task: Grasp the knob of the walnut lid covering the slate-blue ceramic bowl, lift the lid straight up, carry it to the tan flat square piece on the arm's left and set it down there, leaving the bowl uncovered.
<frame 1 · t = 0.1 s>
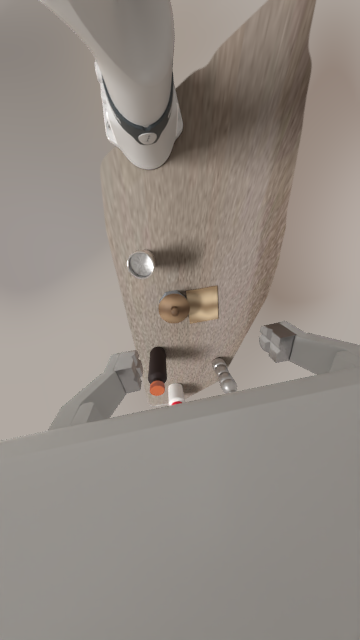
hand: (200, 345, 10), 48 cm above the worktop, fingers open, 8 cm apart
bowl: (173, 303, 59), on the worktop
pill bottle: (175, 387, 81), on the worktop
beer glass: (145, 259, 52), on the worktop
plastic bottle: (217, 361, 76), on the worktop
tan flat square piece: (202, 305, 61), on the worktop
lid: (174, 308, 55), point 5 cm above the worktop, touching bowl
vinegar: (157, 352, 69), on the worktop
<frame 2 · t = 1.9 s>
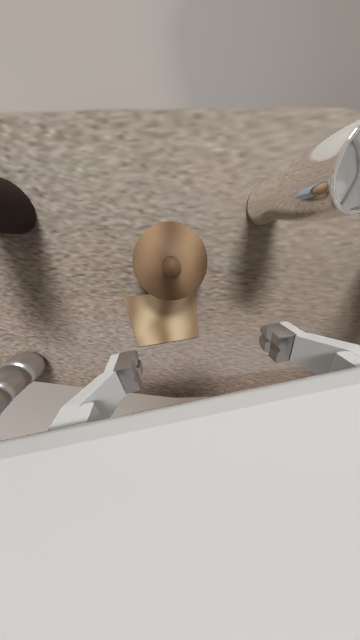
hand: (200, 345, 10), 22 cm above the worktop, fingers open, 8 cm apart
beer glass: (263, 204, 26), on the worktop
plastic bottle: (34, 358, 35), on the worktop
tan flat square piece: (164, 318, 33), on the worktop
lid: (170, 264, 24), point 5 cm above the worktop, touching bowl
vinegar: (11, 208, 23), on the worktop
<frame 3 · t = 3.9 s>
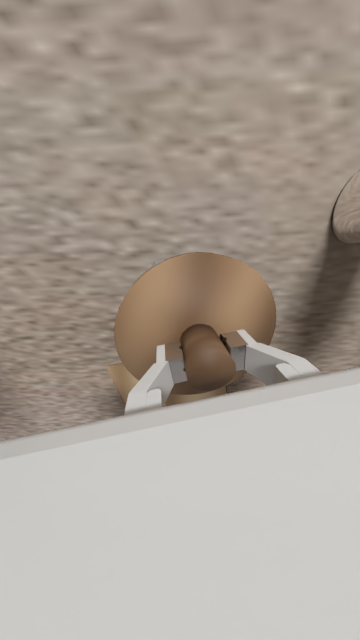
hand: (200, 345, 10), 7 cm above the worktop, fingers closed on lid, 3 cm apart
tan flat square piece: (174, 388, 21), on the worktop
lid: (195, 332, 11), point 5 cm above the worktop, touching bowl, gripper
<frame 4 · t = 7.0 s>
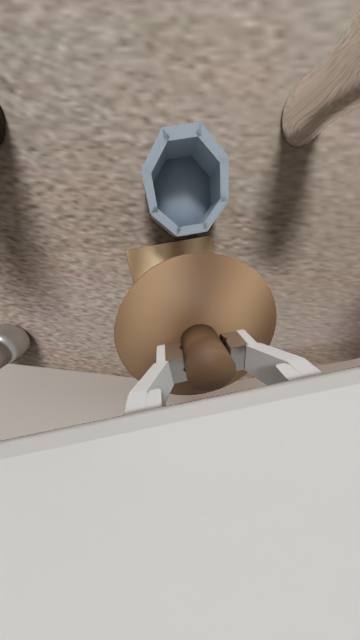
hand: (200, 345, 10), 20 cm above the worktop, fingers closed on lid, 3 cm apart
bowl: (182, 197, 22), on the worktop
beer glass: (302, 115, 20), on the worktop
plastic bottle: (16, 334, 29), on the worktop
tan flat square piece: (174, 279, 28), on the worktop
lid: (195, 333, 11), point 18 cm above the worktop, touching gripper
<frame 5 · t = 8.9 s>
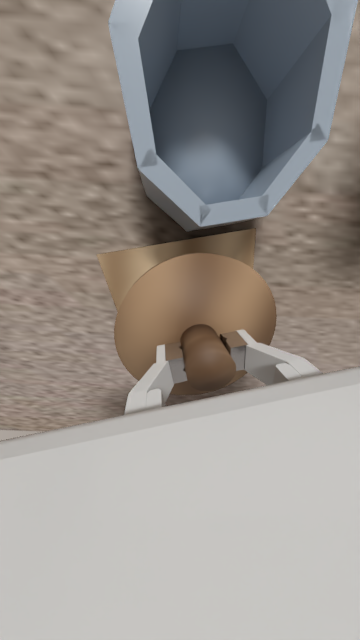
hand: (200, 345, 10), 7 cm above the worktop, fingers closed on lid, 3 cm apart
bowl: (206, 150, 11), on the worktop
tan flat square piece: (185, 303, 16), on the worktop
lid: (195, 333, 11), point 6 cm above the worktop, touching gripper
when the fingers open (3 cm above the worktop, at t = 10.1 s): lid drops 1 cm, resting on tan flat square piece.
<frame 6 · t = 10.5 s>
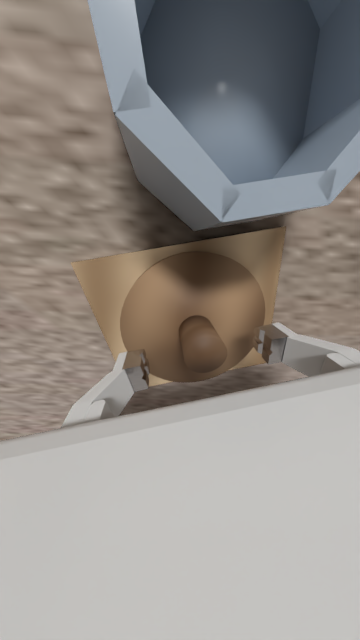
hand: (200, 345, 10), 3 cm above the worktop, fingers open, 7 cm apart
bowl: (223, 113, 8), on the worktop
tan flat square piece: (190, 322, 13), on the worktop
lid: (193, 324, 13), resting on tan flat square piece
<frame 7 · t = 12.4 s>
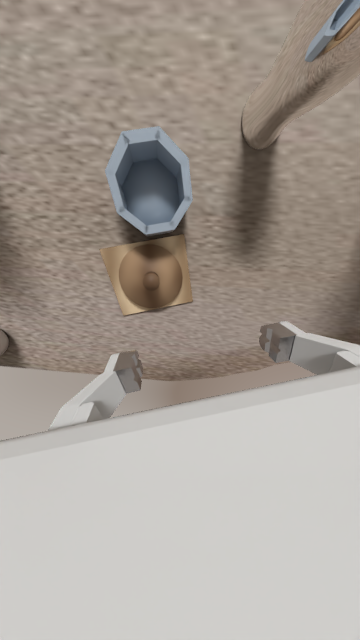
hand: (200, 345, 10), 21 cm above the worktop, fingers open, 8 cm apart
bowl: (152, 197, 23), on the worktop
beer glass: (261, 120, 21), on the worktop
tan flat square piece: (151, 277, 28), on the worktop
lid: (151, 278, 28), resting on tan flat square piece
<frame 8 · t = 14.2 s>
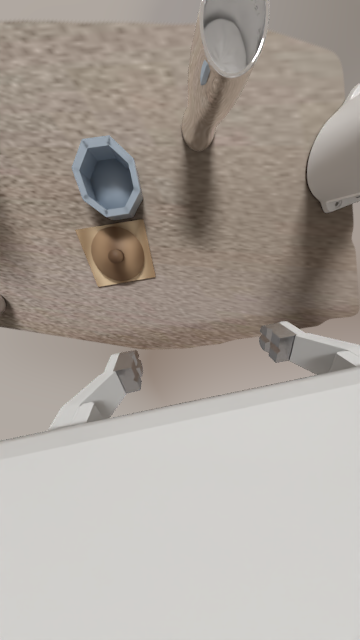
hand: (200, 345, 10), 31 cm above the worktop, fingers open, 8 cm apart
bowl: (115, 189, 30), on the worktop
beer glass: (198, 128, 27), on the worktop
tan flat square piece: (119, 255, 35), on the worktop
lid: (119, 255, 35), resting on tan flat square piece
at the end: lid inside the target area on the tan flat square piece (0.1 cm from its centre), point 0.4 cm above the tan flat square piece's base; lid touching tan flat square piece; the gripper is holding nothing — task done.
